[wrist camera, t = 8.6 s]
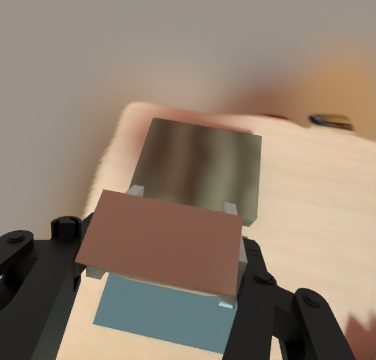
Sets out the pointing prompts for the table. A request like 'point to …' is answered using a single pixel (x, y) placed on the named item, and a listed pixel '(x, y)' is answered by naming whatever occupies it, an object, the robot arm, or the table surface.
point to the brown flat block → (200, 167)
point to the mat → (165, 314)
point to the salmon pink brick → (164, 244)
